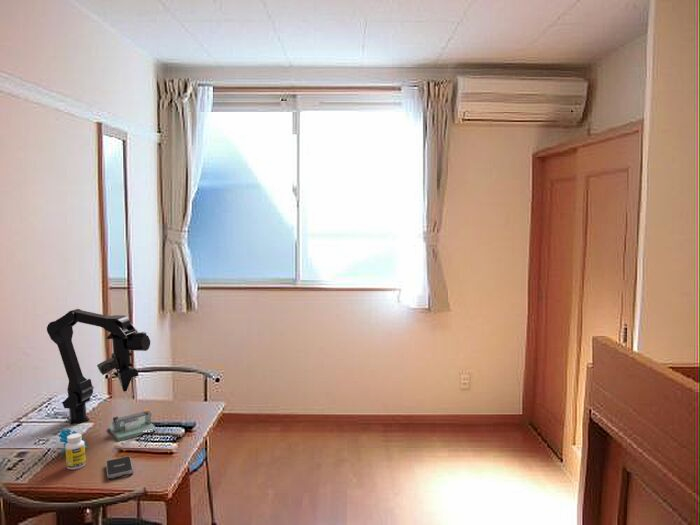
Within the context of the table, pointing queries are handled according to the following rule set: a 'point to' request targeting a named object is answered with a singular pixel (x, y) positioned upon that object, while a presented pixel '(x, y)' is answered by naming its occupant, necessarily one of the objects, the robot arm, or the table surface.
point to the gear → (64, 437)
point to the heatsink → (131, 424)
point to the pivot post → (116, 424)
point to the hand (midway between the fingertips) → (124, 391)
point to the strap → (134, 415)
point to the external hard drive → (119, 468)
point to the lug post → (148, 418)
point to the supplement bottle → (75, 451)
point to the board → (132, 433)
